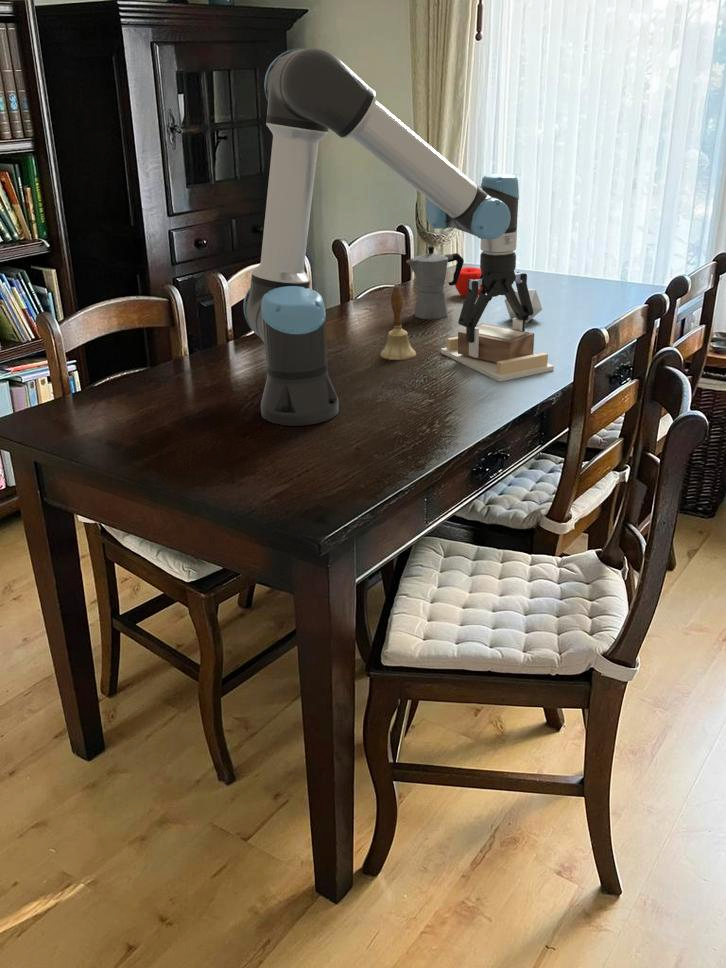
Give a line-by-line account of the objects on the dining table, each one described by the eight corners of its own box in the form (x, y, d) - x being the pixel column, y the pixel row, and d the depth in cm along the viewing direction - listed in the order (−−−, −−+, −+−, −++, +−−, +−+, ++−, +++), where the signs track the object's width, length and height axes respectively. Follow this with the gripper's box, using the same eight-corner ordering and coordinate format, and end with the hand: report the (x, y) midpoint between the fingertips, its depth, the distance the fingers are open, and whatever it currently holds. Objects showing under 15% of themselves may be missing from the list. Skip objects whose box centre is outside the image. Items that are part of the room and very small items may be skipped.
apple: (453, 292, 260) (453, 265, 256) (484, 292, 259) (484, 265, 255) (453, 300, 252) (453, 272, 248) (484, 300, 251) (485, 272, 247)
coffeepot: (412, 321, 233) (411, 251, 225) (402, 313, 241) (401, 244, 233) (468, 316, 236) (469, 246, 228) (457, 307, 244) (457, 240, 236)
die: (548, 323, 230) (541, 286, 232) (536, 313, 222) (530, 275, 224) (516, 332, 234) (510, 296, 236) (504, 323, 226) (498, 286, 228)
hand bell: (413, 360, 203) (412, 290, 196) (377, 359, 205) (375, 290, 198) (418, 350, 210) (418, 282, 204) (383, 349, 212) (382, 281, 205)
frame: (509, 365, 193) (510, 341, 190) (457, 353, 201) (458, 330, 199) (533, 355, 198) (534, 332, 196) (481, 344, 207) (482, 322, 205)
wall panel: (499, 381, 188) (499, 361, 186) (440, 352, 208) (440, 334, 206) (553, 370, 193) (554, 351, 192) (491, 343, 213) (492, 325, 211)
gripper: (460, 261, 183) (459, 365, 192) (553, 247, 192) (548, 347, 201) (442, 255, 189) (441, 356, 198) (532, 242, 198) (528, 339, 207)
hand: (495, 352), depth 200 cm, fingers closed on frame, 11 cm apart
